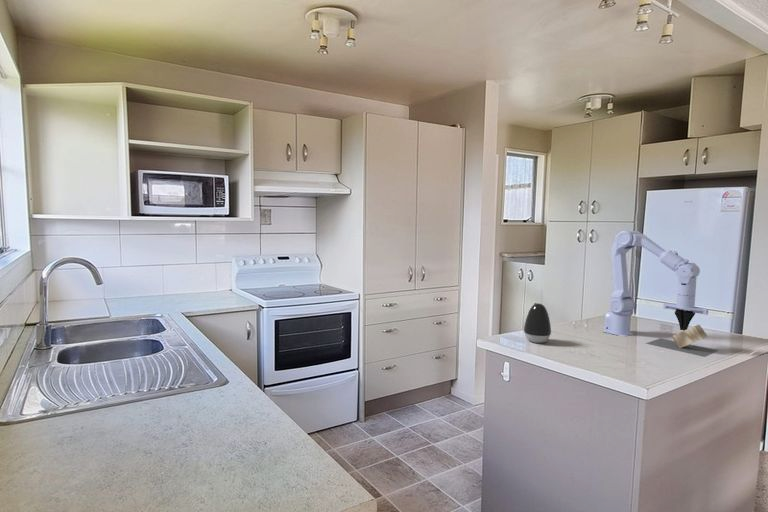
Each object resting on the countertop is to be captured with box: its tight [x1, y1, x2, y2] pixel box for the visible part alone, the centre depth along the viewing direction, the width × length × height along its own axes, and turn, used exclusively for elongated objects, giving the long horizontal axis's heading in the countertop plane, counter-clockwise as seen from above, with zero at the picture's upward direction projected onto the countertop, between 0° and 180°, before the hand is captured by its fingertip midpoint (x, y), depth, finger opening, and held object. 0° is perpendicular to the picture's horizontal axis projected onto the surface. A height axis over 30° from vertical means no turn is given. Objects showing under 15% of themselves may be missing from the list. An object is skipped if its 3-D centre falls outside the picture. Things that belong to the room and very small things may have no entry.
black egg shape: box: [523, 302, 552, 344], centre depth 178 cm, size 10×10×15 cm
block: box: [671, 324, 708, 348], centre depth 171 cm, size 5×5×9 cm
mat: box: [645, 337, 719, 357], centre depth 173 cm, size 20×14×1 cm
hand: (683, 329), depth 172 cm, fingers closed
